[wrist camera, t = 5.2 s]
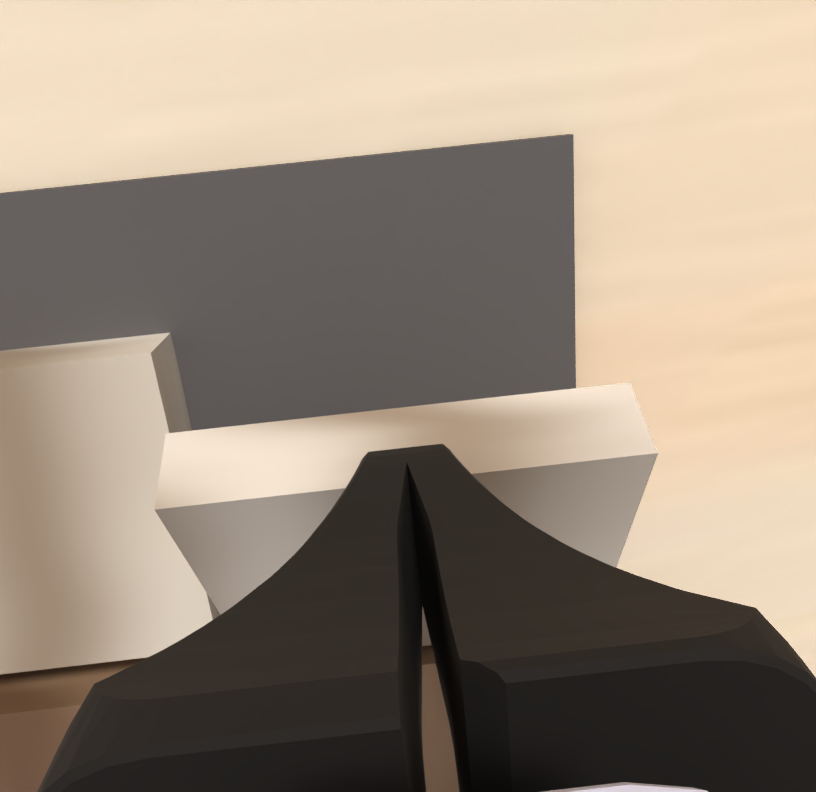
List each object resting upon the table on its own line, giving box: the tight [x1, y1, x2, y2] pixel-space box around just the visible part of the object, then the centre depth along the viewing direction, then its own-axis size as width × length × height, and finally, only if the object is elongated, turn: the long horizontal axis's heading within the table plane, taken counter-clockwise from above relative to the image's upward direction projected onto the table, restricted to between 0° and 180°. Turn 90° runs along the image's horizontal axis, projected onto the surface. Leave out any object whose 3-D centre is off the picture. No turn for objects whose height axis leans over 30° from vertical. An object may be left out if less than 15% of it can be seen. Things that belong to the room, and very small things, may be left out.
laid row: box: [0, 645, 459, 792], centre depth 19 cm, size 17×7×2 cm, turn 96°
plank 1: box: [0, 333, 220, 675], centre depth 16 cm, size 8×7×2 cm
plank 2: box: [154, 382, 658, 646], centre depth 14 cm, size 8×7×2 cm
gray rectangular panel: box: [0, 134, 576, 431], centre depth 16 cm, size 17×11×1 cm, turn 96°
